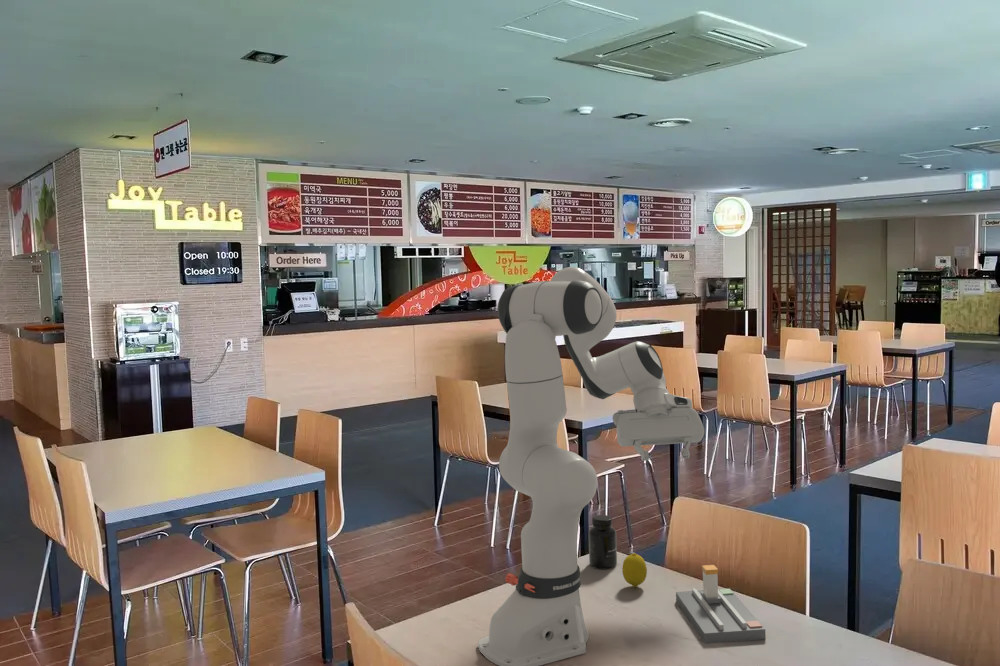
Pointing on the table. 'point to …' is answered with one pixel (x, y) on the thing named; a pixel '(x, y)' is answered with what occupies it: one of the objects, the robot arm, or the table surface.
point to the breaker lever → (710, 584)
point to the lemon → (634, 569)
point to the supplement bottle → (602, 543)
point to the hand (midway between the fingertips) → (666, 458)
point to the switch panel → (720, 617)
